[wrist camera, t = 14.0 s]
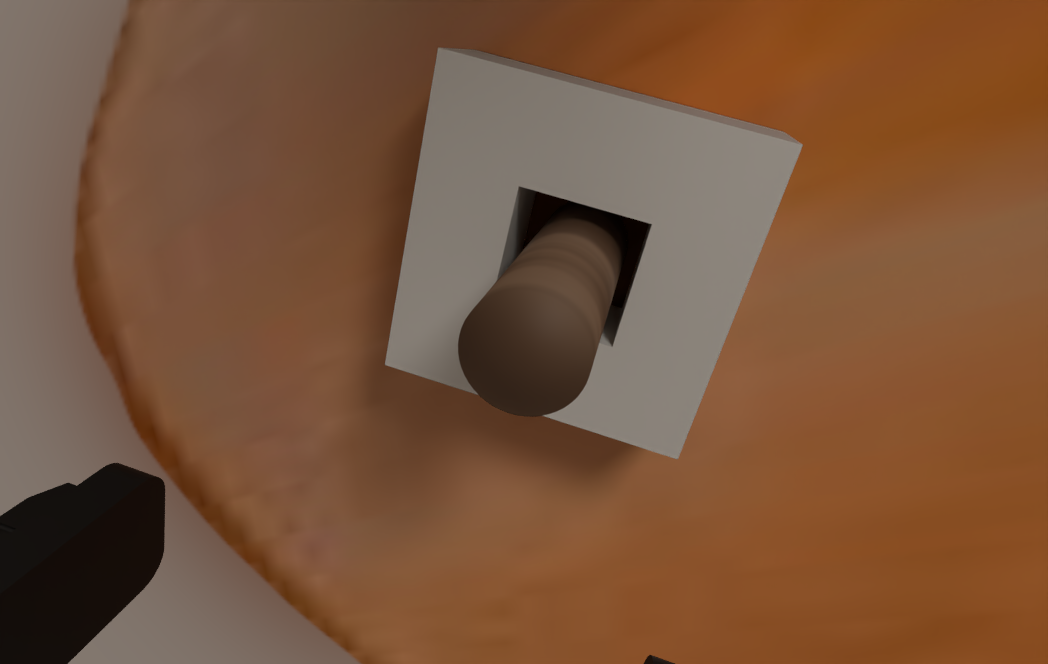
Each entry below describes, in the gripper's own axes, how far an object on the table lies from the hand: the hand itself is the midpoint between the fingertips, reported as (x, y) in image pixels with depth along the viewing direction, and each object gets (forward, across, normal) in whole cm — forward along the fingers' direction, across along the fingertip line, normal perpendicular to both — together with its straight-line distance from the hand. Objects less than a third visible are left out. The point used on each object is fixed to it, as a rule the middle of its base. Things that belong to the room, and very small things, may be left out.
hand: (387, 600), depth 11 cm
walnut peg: (+24, 0, 0) cm, 24 cm away
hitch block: (+24, 0, 0) cm, 24 cm away
